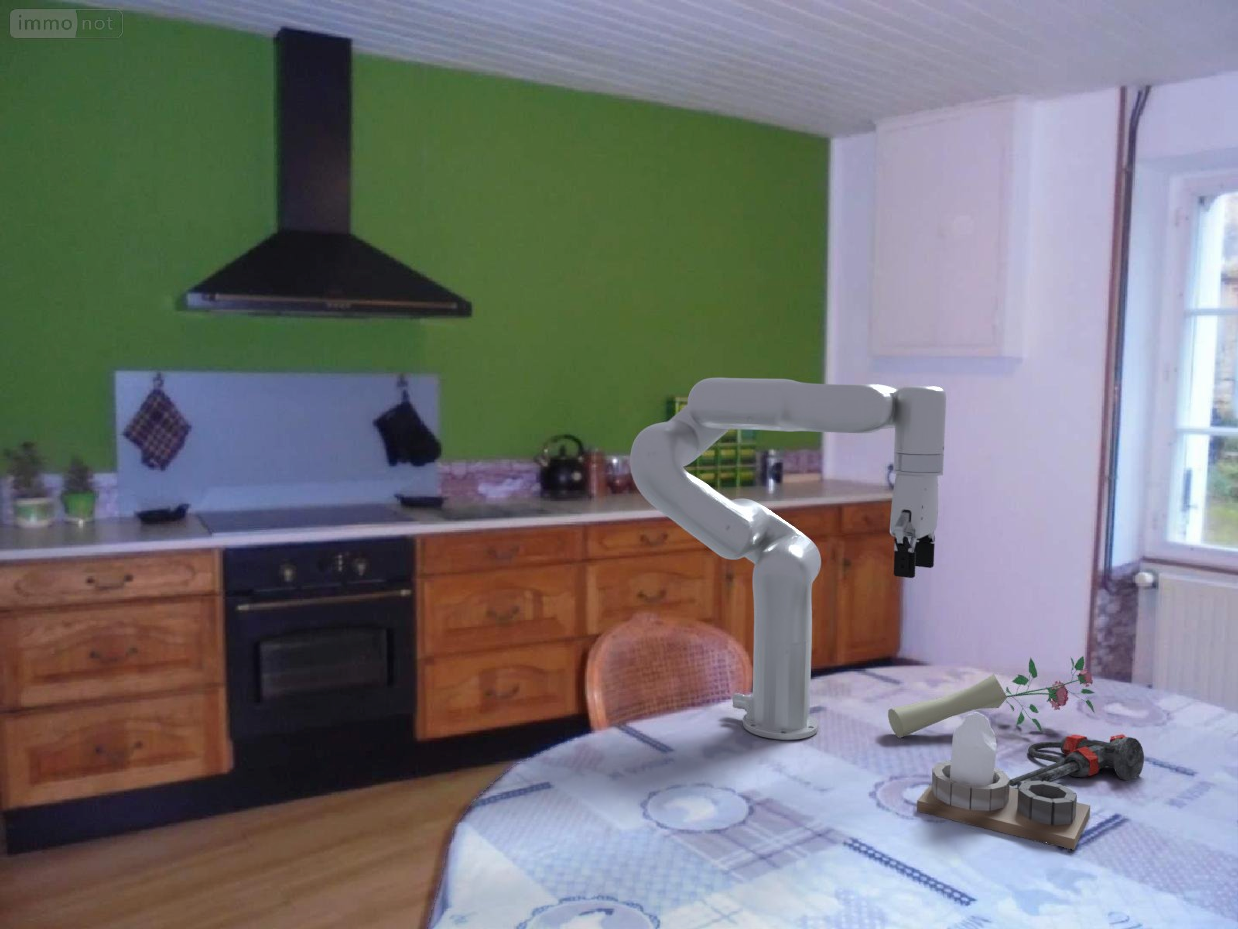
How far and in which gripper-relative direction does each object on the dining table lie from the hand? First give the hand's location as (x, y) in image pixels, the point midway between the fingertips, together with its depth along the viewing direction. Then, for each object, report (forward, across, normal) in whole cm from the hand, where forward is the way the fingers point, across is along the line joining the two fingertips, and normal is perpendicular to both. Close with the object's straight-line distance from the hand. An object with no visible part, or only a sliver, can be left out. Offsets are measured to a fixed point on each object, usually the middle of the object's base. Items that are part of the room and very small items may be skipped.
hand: (914, 571), depth 162 cm
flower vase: (+29, -14, +9) cm, 33 cm away
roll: (+27, +18, +14) cm, 35 cm away
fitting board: (+28, +18, +19) cm, 39 cm away
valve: (+29, -3, +23) cm, 37 cm away
